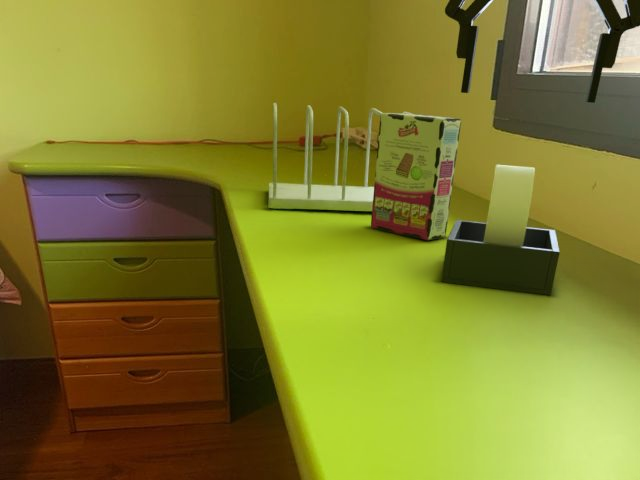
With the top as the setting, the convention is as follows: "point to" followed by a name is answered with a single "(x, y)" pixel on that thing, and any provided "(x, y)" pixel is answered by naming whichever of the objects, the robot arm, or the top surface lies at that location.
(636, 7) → the robot arm
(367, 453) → the top surface
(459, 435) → the top surface
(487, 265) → the tote
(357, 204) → the file sorter
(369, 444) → the top surface
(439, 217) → the candy bar box
